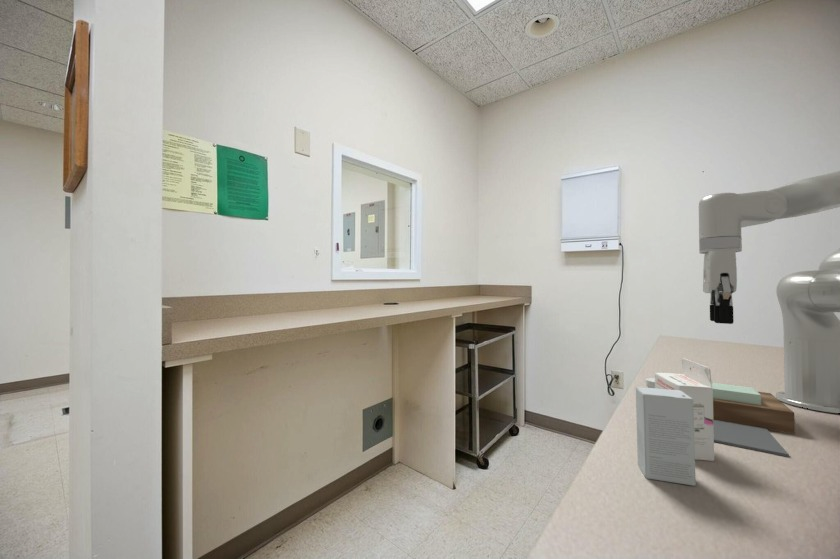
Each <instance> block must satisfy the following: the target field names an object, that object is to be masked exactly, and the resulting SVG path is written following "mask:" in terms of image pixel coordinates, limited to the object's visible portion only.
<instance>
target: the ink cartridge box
mask: <svg viewBox="0 0 840 559" xmlns="http://www.w3.org/2000/svg"><path fill="white" fill-rule="evenodd" d="M680 361H681V367H682V373H675V372H674V373H673V372H654V378H655V388H657V389H669V390H680V391H682V392H684V393H685V394H687V395H688V396H689V397H691V398H692V399H693V413H694V442H695V461H696V460H698V461H699V460H700V461H709V462H714V461H715V442H714V424H713V388H712V383H713V382H712V375H711V374H712V372H711V369H710V367H709V366H706V365H703V364H702V363H698V362H696V361H693V360H690V359H687V358H685V357H681V360H680ZM692 368H693V369H694V368H695V369H696V370H697V371H699V373H698V372H695V371H693V370H692Z"/></svg>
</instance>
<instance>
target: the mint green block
mask: <svg viewBox="0 0 840 559" xmlns="http://www.w3.org/2000/svg"><path fill="white" fill-rule="evenodd" d="M712 388H713V398H715V399H722V400H729V401H736V402H743V403H750V404H757V405H761V395H760V394H759V393H758V392H759V391H757V389H755V388H754V387H750V386H749V387H748V386H742V385H741V386H740V385H733V384H728V383H727V384H726V383H719V382H712Z"/></svg>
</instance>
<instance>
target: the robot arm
mask: <svg viewBox="0 0 840 559" xmlns="http://www.w3.org/2000/svg"><path fill="white" fill-rule="evenodd" d="M837 208H840V170H837V171H834V172H829V173H826V174H822V175H821V174H820V175H817V176H816V175H815V176H811V177H807V178H803V179H800V180H797V181H793V182H790V183H787V184H783V185H780V186H778V187H775V188H772V189H767V190H758V191H751V192H743V193H735V192H720V193H713V194H709V195H707V196H704V197H702V198H701V199H700V200H699V202H698V243H699V244H698V246H699V254H700V255H704V256H703V258H704V259H703V270H702V271H703V274H702V277H703V278H702V279H703V280H702V283H703V284H702V292H704V293H705V294H710V298H709V299H710V300H709V320H710V322H713V323H715V324H724V325H725V324H729V325H733V324H734V321H735V320H734V306H733V304H734V303H733V294H734V293H735V292H736V291H737V287H738V286H737V285H738V276H737V275H738V273H737V271H738V270H737V256H736V255H737V254H736V253H739V252H742V251H743V247H742V246H743V245H742V240H743V239H742V228H747V227H751V226H758V225H763V224H768V223H772V222H774V221H776V220H781V219H789V218H797V217H801V216H806V215H807V216H808V215H811V214H816V213H817V214H818V213H820V212H824V211H825V212H826V211H830V210H833V209H837ZM775 290H776V297H777V301H778V305H779V307H780V311H781V316H782V326H783V328H782V329H783V365H784V367H783V368H784V371H783V372H784V375H783V376H784V391H777V392H776V393H775V397H776V398H777V399H778V400H779V401H781V402H782V403H784V404H788V405H791V406H795V407H800V408H802V407H803V408H804V409H807V408H808V409H807V410H813V411H817V412H818V411H819V412H824V413H830V414H831V413H832V414H838V413H840V319H839V317H838V316H837V315H836V314H835V313H840V248H838V249H836V250H835V251H833V252H832V253H830V254H829V255H827V256H826V257H825V258H824V259H823V260H822V261H821V262H820V264H819V266H818V269H817V270H803V271H797V272H793V273H789V274H787V275H785V276H784V277H782V279H780V280H779V281H778V283H777V285H776V288H775Z"/></svg>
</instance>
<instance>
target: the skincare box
mask: <svg viewBox="0 0 840 559" xmlns="http://www.w3.org/2000/svg"><path fill="white" fill-rule="evenodd" d="M635 413H636V443H637V444H636V448H637V451H636V453H637V465H638V468H639V469H640V470H641V472H642V474H643V475H644V477H645V479H646V480H647V479H648V480H655V481H660V482H661V481H662V482H668V483H674V484H681V485H687V486H692V487H695V486H696V484H697V482H696V459H695V442H694V413H693V399H692V398H691V397H689V396H688V395H687V394H685V393H684V392H682V391H680V390H669V389H657V388H646V387H642V386H636V387H635Z"/></svg>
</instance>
